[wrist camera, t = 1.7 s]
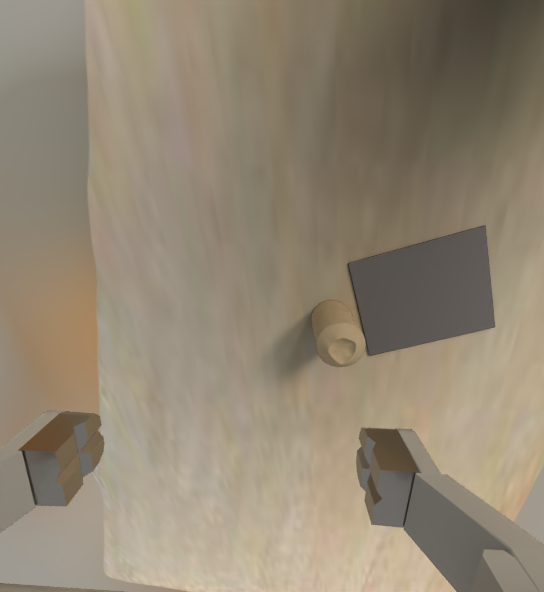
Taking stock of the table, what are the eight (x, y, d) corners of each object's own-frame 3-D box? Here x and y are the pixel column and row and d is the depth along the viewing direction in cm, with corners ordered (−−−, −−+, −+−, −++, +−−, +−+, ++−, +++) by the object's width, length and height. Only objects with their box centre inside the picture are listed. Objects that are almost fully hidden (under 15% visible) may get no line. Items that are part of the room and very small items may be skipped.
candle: (346, 338, 41) (363, 377, 32) (308, 333, 42) (313, 370, 32) (353, 302, 40) (373, 331, 30) (314, 297, 40) (321, 325, 30)
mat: (483, 225, 36) (485, 225, 36) (493, 326, 39) (495, 327, 39) (348, 263, 38) (348, 263, 38) (369, 354, 42) (369, 355, 42)
